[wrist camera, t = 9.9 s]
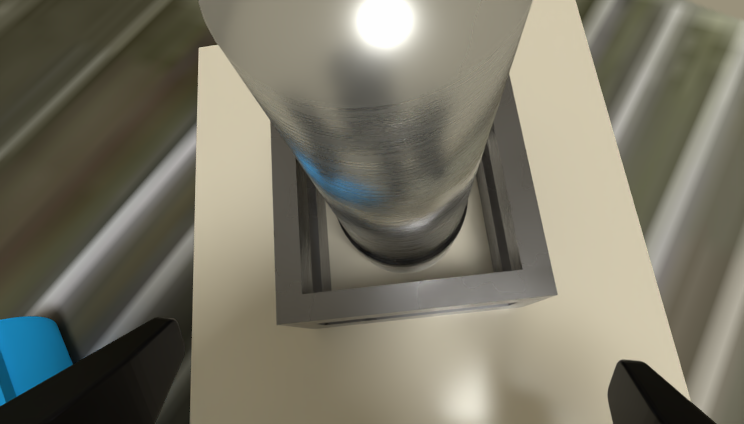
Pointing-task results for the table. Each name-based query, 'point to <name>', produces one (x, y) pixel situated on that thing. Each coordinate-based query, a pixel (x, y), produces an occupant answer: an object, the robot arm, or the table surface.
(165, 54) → the table surface
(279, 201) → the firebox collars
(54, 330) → the book
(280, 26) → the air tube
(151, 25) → the table surface
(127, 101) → the table surface
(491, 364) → the tile
